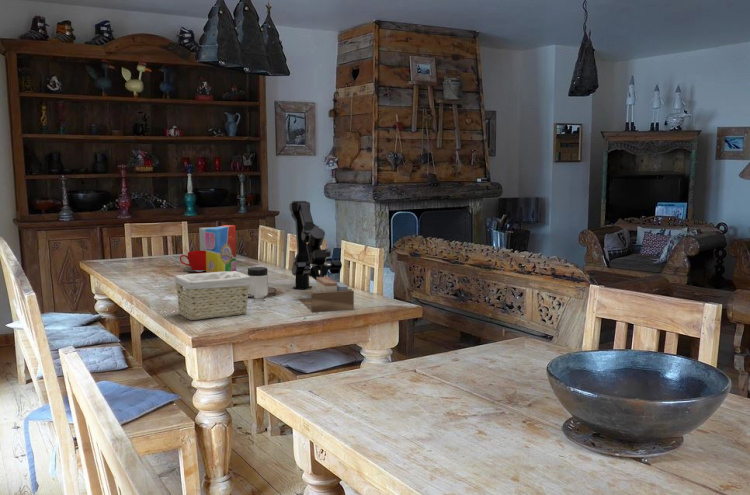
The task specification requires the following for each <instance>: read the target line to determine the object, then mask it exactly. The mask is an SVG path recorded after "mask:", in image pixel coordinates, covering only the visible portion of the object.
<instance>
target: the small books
mask: <svg viewBox="0 0 750 495" xmlns="http://www.w3.org/2000/svg"><path fill="white" fill-rule="evenodd" d="M336 282H337V281H336ZM351 290H353V288H351V287H349V285H346V284H345V283H343V282H341V281H338V282H337V291H351Z"/></svg>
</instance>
